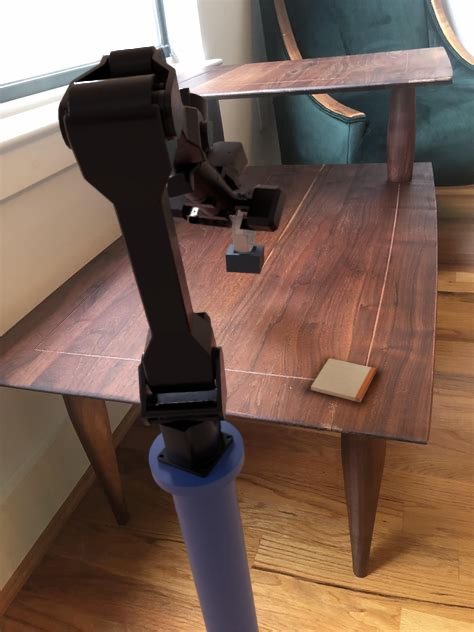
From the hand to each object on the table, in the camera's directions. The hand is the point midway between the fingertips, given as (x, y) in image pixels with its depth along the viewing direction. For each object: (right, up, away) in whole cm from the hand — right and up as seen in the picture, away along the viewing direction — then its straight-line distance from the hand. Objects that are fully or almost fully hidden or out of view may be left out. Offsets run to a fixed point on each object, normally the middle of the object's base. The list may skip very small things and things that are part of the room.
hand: (245, 226), depth 88 cm
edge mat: (+12, -23, -18) cm, 31 cm away
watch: (0, -6, +2) cm, 7 cm away
